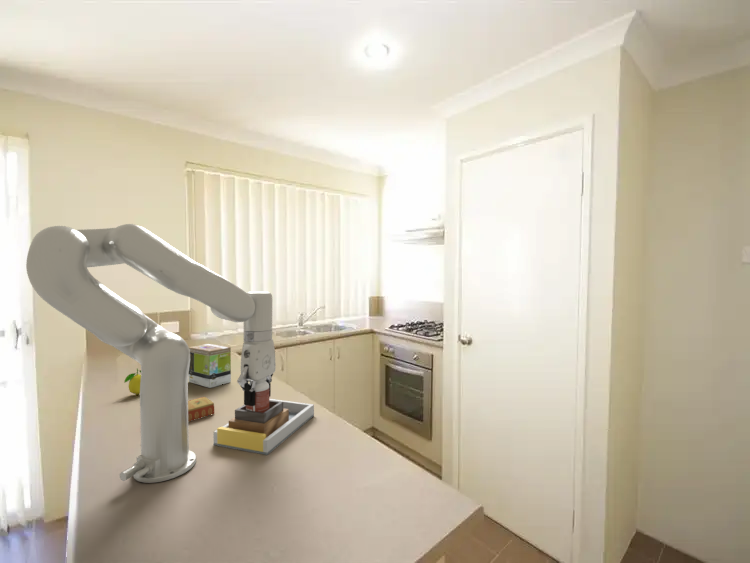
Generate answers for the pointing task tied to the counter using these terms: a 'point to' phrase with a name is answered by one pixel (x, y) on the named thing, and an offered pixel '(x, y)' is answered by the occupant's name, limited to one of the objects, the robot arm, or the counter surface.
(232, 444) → the bay
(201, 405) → the carton
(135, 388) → the lemon
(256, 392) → the pill bottle
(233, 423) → the box
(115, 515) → the counter surface
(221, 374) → the tea box
